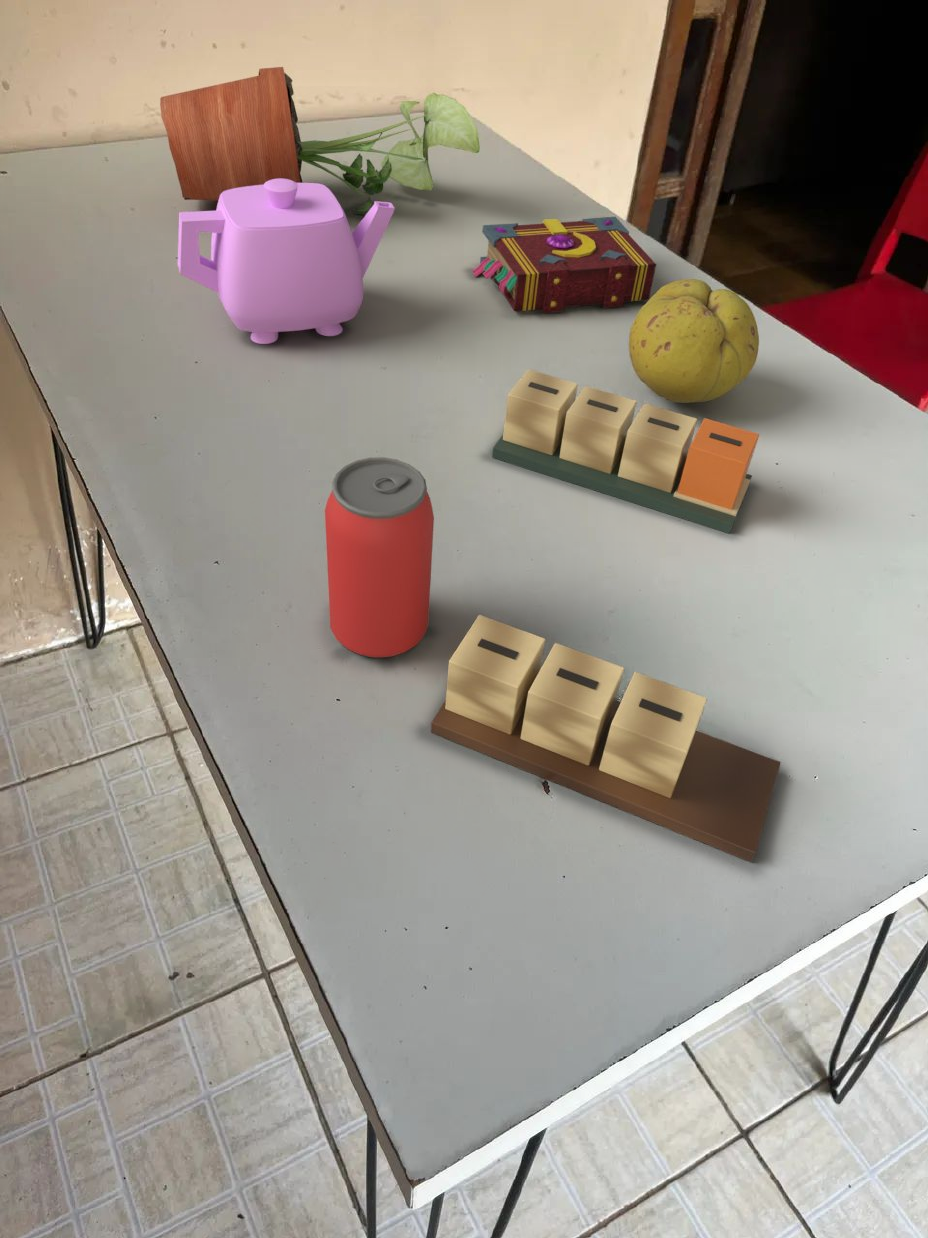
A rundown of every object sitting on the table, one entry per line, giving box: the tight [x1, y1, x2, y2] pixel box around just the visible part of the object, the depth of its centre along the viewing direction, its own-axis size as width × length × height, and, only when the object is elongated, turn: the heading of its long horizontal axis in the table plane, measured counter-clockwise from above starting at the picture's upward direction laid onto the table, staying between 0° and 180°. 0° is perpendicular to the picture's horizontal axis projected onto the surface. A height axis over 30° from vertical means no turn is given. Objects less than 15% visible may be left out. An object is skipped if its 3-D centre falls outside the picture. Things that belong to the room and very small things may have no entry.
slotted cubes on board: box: [430, 614, 782, 862], centre depth 58 cm, size 20×7×6 cm, turn 65°
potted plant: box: [159, 66, 481, 216], centre depth 109 cm, size 16×15×35 cm
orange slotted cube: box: [678, 417, 760, 509], centre depth 76 cm, size 4×4×4 cm
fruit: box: [628, 278, 760, 404], centre depth 85 cm, size 11×12×10 cm
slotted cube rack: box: [491, 369, 753, 534], centre depth 78 cm, size 20×7×6 cm, turn 65°
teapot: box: [177, 178, 395, 345], centre depth 90 cm, size 20×12×13 cm, turn 110°
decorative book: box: [471, 216, 657, 314], centre depth 101 cm, size 11×16×5 cm
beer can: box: [324, 456, 435, 659], centre depth 62 cm, size 7×7×12 cm
